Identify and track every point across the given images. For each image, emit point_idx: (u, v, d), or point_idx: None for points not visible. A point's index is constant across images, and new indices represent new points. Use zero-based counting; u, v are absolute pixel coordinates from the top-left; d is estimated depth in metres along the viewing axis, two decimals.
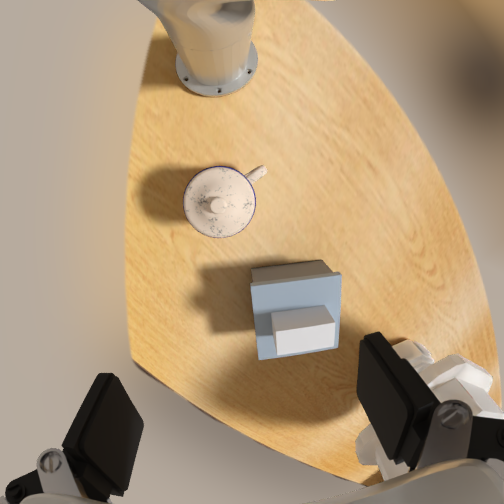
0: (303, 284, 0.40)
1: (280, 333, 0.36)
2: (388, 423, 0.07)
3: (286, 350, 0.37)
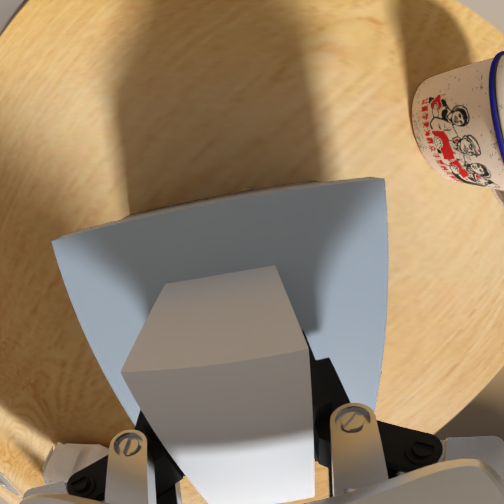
0: (371, 349, 0.12)
1: (294, 372, 0.06)
2: None
3: (166, 410, 0.06)
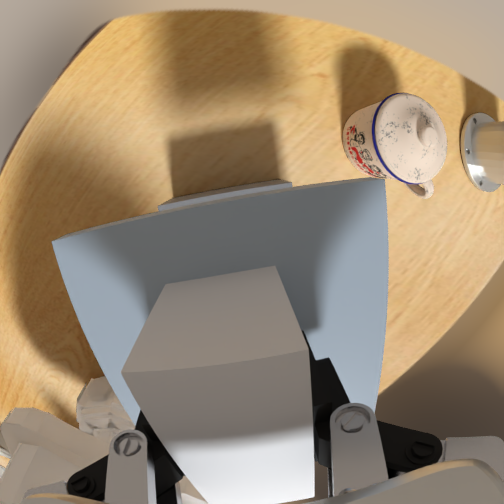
0: (371, 349, 0.12)
1: (294, 372, 0.06)
2: None
3: (166, 410, 0.06)
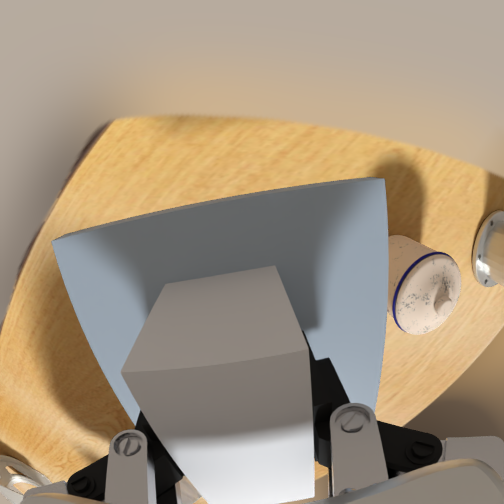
0: (371, 349, 0.12)
1: (294, 372, 0.06)
2: None
3: (166, 410, 0.06)
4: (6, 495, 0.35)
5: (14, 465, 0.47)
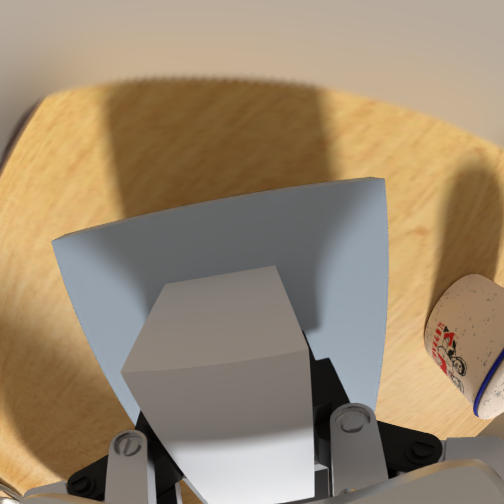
0: (371, 349, 0.12)
1: (294, 372, 0.06)
2: None
3: (166, 410, 0.06)
4: None
5: (3, 490, 0.34)
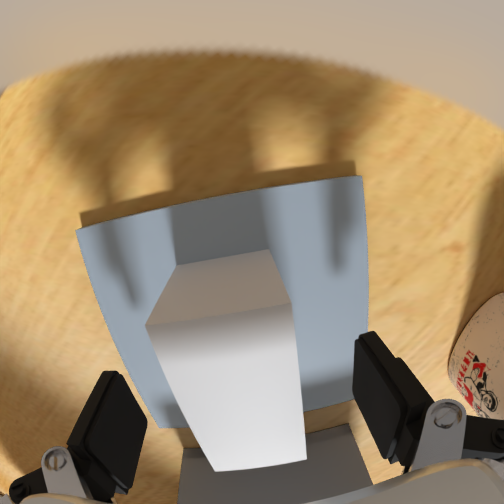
0: (356, 326, 0.14)
1: (281, 322, 0.07)
2: (382, 422, 0.07)
3: (179, 359, 0.08)
4: None
5: None
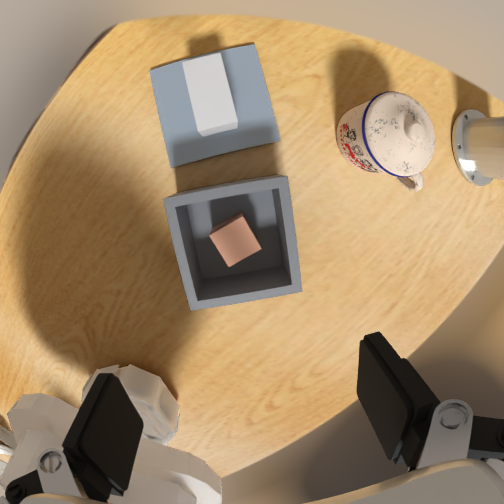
0: (263, 96, 0.30)
1: (218, 57, 0.24)
2: (388, 423, 0.07)
3: (190, 70, 0.24)
4: None
5: None
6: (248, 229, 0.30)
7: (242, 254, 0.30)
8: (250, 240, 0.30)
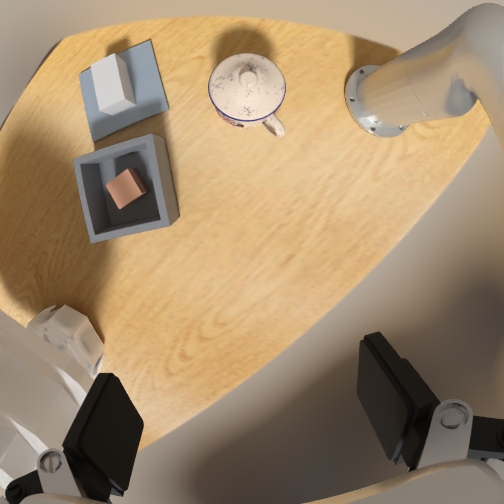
0: (155, 78, 0.35)
1: (113, 56, 0.29)
2: (388, 423, 0.07)
3: (95, 69, 0.29)
4: None
5: None
6: (131, 178, 0.35)
7: (128, 198, 0.36)
8: (133, 187, 0.35)
